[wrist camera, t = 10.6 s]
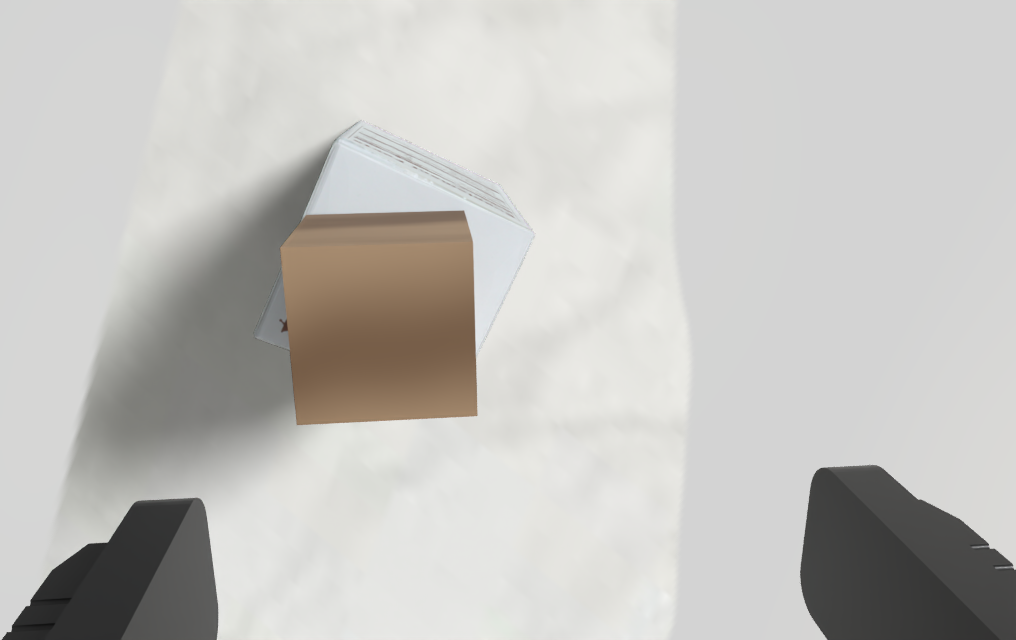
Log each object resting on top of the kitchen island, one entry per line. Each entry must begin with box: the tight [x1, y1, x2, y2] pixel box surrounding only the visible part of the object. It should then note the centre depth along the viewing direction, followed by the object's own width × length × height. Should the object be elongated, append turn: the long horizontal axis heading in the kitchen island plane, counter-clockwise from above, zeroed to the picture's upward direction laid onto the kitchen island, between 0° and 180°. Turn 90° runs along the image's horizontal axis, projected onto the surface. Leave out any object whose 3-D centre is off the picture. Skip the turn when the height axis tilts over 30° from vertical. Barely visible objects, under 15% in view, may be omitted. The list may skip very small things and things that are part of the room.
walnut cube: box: [280, 210, 477, 425], centre depth 25 cm, size 5×5×5 cm
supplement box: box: [254, 120, 535, 357], centre depth 33 cm, size 7×7×13 cm
